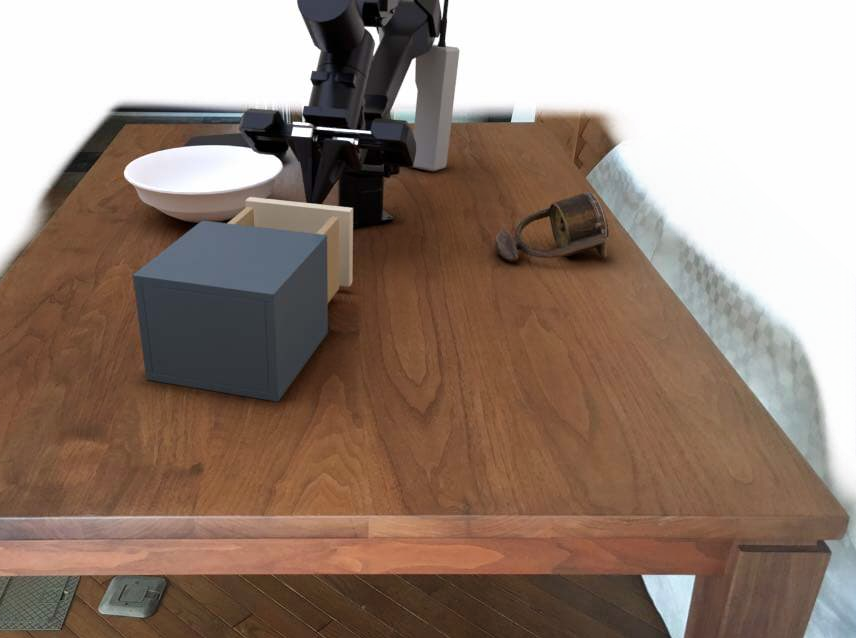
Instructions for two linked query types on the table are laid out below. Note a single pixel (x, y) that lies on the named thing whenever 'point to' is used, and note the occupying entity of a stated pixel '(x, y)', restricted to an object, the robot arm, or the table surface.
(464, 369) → the table surface
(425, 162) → the vintage mobile phone
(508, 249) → the brass cylinder with loop
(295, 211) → the drawer
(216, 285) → the cabinet
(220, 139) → the carrying case
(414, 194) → the table surface
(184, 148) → the bowl
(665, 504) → the table surface
